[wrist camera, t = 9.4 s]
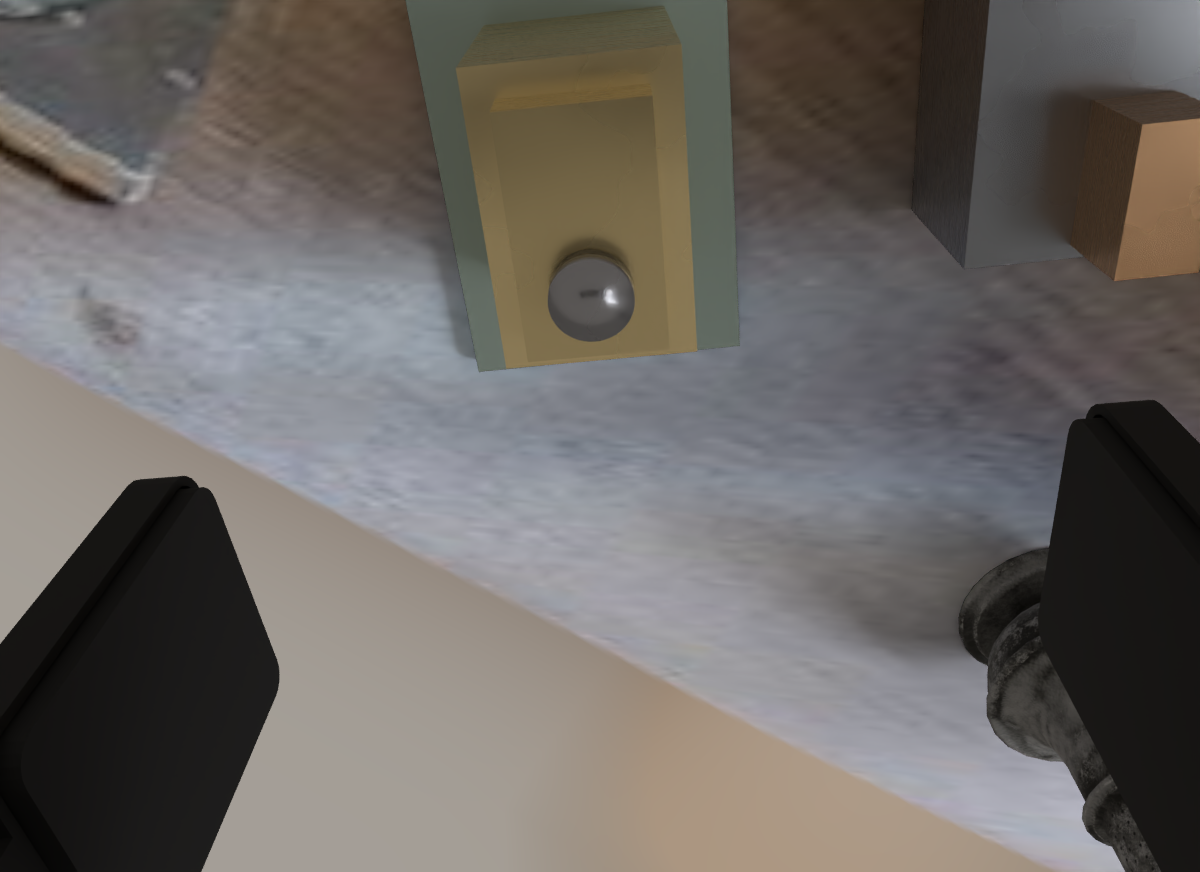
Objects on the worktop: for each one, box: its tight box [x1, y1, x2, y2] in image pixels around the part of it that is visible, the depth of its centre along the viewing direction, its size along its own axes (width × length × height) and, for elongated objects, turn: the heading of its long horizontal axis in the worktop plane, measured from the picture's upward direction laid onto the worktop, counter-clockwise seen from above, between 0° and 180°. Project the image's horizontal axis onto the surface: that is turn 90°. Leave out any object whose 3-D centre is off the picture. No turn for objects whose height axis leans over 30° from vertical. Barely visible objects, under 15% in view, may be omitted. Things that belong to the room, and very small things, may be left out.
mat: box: [405, 0, 740, 372], centre depth 23 cm, size 7×10×1 cm
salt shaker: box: [959, 549, 1161, 872], centre depth 26 cm, size 6×6×12 cm
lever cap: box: [456, 6, 697, 369], centre depth 20 cm, size 4×6×7 cm, turn 6°
